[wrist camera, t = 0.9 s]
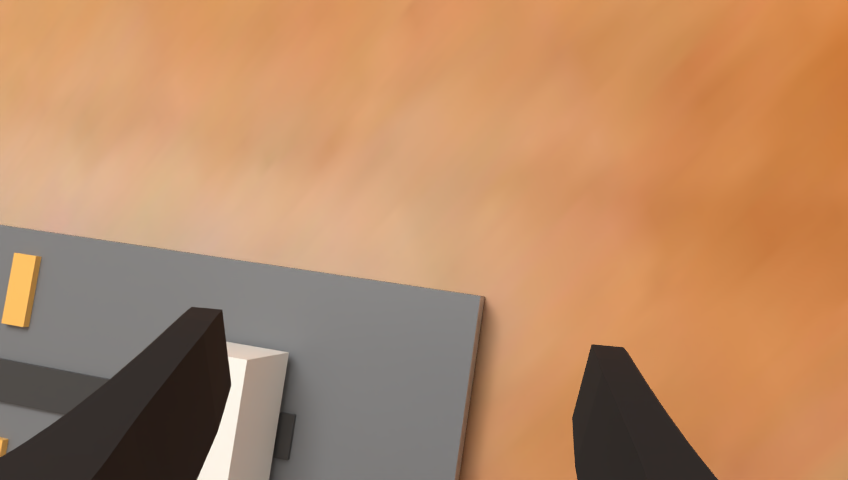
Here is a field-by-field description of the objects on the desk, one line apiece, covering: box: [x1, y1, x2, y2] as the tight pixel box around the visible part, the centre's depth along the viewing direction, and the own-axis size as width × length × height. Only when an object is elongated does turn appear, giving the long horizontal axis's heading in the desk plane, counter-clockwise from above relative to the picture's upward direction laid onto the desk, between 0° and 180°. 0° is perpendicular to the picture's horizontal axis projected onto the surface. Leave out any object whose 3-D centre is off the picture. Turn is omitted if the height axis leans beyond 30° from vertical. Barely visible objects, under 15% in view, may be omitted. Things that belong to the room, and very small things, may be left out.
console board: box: [0, 225, 485, 480], centre depth 28 cm, size 12×28×2 cm, turn 82°
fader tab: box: [197, 342, 289, 480], centre depth 24 cm, size 6×3×4 cm, turn 172°
